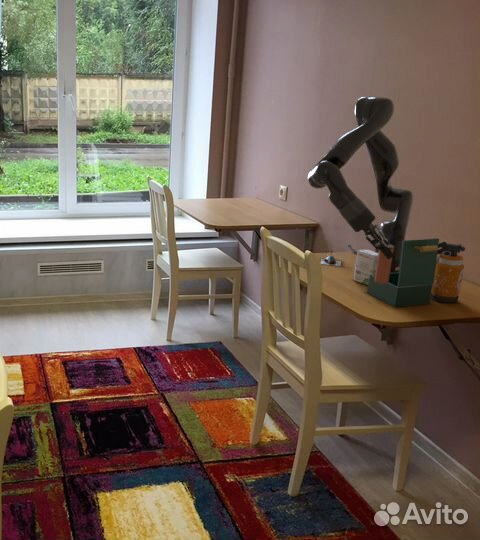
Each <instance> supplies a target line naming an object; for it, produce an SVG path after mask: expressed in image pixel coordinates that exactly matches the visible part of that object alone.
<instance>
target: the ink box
mask: <svg viewBox="0 0 480 540" xmlns="http://www.w3.org/2000/svg"><path fill="white" fill-rule="evenodd" d="M356 252H357V253H356V258H355V268H354V274H353V281H355V282H358V283H361V284H363V285H365V286H368V284H369V277H370V275H371V274H375V273H376V266H377V259H378V253H376V252H375V251H373V250H370V249H358V250H356Z"/></svg>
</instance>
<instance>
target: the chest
mask: <svg viewBox="0 0 480 540" xmlns="http://www.w3.org/2000/svg"><path fill="white" fill-rule="evenodd" d="M398 278H399V272H395V273H390V276H389V282H388V283H386V284H382V283H377V282H375V281H374V280H375V274H371V275H370V277H369V284H368V285H367V292H366V293H368V294H369V295H371V296H373V297H375V298H377V299H379V300H380V301H382V302H384V303H386V304H388V305H390V306H392V307H394V308H399V307H408V306H418V305H430V300H431V297H430V296H431V290H432V284H424V285H413V286H402V287H398Z"/></svg>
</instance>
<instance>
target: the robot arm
mask: <svg viewBox="0 0 480 540" xmlns="http://www.w3.org/2000/svg"><path fill="white" fill-rule="evenodd" d="M394 112H395V105H394V102H393V100H392V99H391V98H389V97H384V96H383V97H382V96H362V97H360V98H358V100H357V101H356V103H355V106H354V116H355V118H354V119H355V121H356V124H357V127H356V128H354V129H352V130H350V131H349V132H346V133H344V134H343V135H342V136H341V137H340V138H338V139H337V140H336V141H335V142H334V144H332V145H331V147H330V148H329V150H328V151H327V152H326V153H325V155H324V156H323V157H322V158H321V159H320V160H319V161H318V162H317V163H316V164H315V165H314V166H313V167H312V169H311V170H310V171H309V172H308V176H307V182H308V184H309V185H310V186H311V187H312V188H314V189H318V190H319V189H324V188H326V187H327V189H328V191H329V194H328V200H329V201H330V203H331V204H332V206H333V207H334V208H335V209H336V210H337V211H338V213H339V214H340V215H341V218H343V219H344V221H346V223H347V224H348V225H349V226H350V227H351V228H352V230H353V231H354V232H355V233H359V232H360V231H363V232H364V237H365V240H367V241H368V242H369V243H370V244H371V245H372V246H373V247H374V252H376V253H378V252H379V250H381V252H382V253H383V254H384V255H385V256H386V257H387V259H390V258H392V262H391V269H390V273H395V272H399V269H400V260H401V252H402V243H403V241H404V240H406V235H407V229H408V226H409V222H410V217H411V211H412V208H413V203H414V194H413V192H412V191H411V190H409V189H402V188H397V187H393V186H392V183H391V180H392V178H393V176H394V175H395V173H396V172H397V170H398V169H399V165H400V160H399V155H398V150H397V148H396V146H395V144H394V143H393V141H392V140H391V139H390V138H389V137H388V136H387V135H386V134H385V133H384V132H383V131H382V129H383V128H384V127H385V126H386V125H387V124H388V123H389V122H390V121H391V119H392V117H393V115H394ZM364 144H365V147H366V152H367V154H368V159H369V163H370V166H371V169H372V173H373V177H374V181H375V185H376V186H375V187H376V191H377V192H376V193H377V200H378V205H379V207H380V210H381V211H383V212H386V213H391V214H396V215H395V217H394V219H390V220H388V219H387V220H385V221H382V222H381V223H380V226H379V225H378V224H373V222H374V221H375V220H376V215H375V214H374V213H373V212H372V211H371V210H370V209H369V207H368V206H367V205H366V204H365V203H364V201H363V200H362V199H360V198H359V197H358V196H357V195H356V194H355V192H354V191H353V190H352V189H351V188H350V187H349V186H348V184H347V182H346V179H345V177H344V176H343V173H342V171H341V169H342V168H343V167H344V166H346V165H347V163H348V162H349V161H350V160H351V158H352V157H353V156H354V155H355V154H356V152H358V150H359V149H360V148H361V147H362V146H363V145H364ZM386 244H390V245H393V246H394V249H393V253H392V251H391V250H390V249H389V248H388V247H387V245H386ZM347 247H348V248H349V249H350V250H351V251H352V252H353V253H355V254H357V250H355V249H353V248H352V244H348V245H347Z"/></svg>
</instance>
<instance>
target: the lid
mask: <svg viewBox="0 0 480 540" xmlns="http://www.w3.org/2000/svg"><path fill="white" fill-rule="evenodd" d="M439 243H440V238H438V237H436V238H422V239H405V240H404V241H403V243H402V252H401V260H400V269H399V278H398V287H402V286H413V285H424V284H434V276H435V268H436V261H437V257H438V255H437V253H438V250H439V248H438V245H439Z"/></svg>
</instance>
